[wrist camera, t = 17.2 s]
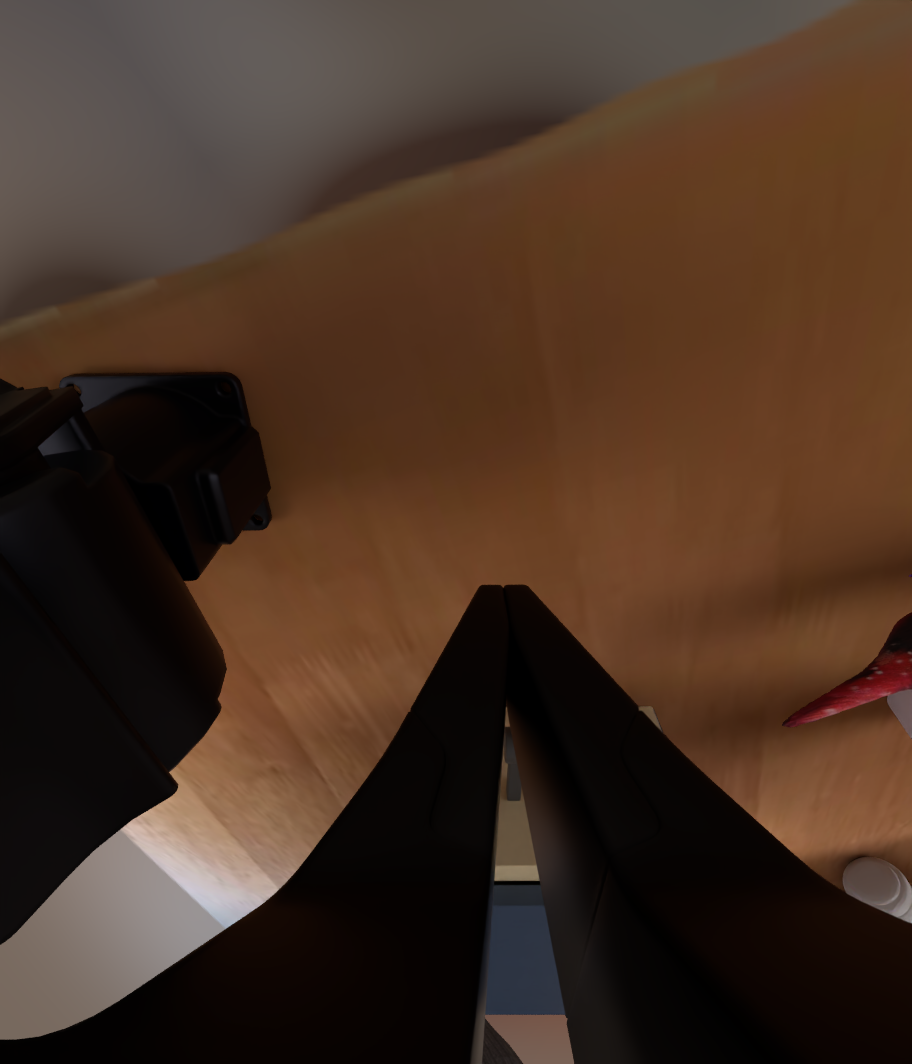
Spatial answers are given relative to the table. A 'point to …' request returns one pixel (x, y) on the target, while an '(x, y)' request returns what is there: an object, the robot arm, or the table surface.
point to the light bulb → (879, 886)
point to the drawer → (519, 820)
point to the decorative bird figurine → (867, 679)
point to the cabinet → (521, 955)
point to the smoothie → (902, 708)
